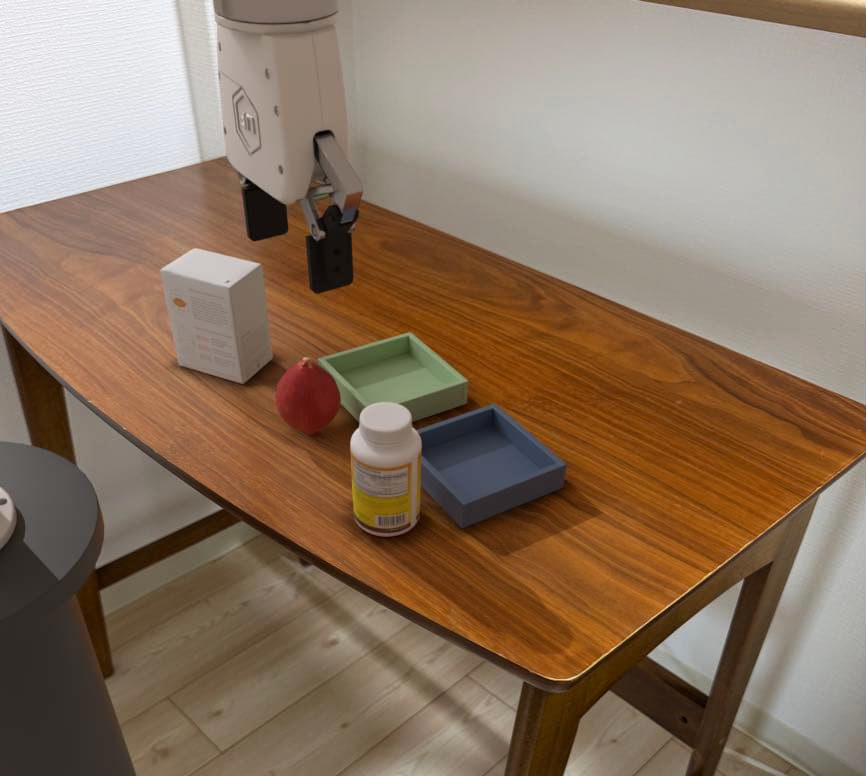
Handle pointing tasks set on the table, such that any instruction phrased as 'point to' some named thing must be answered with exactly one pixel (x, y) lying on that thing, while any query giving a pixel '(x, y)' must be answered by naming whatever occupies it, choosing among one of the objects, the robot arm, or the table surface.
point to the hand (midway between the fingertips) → (298, 260)
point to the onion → (307, 397)
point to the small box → (218, 314)
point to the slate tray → (485, 465)
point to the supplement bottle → (386, 470)
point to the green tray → (396, 377)
